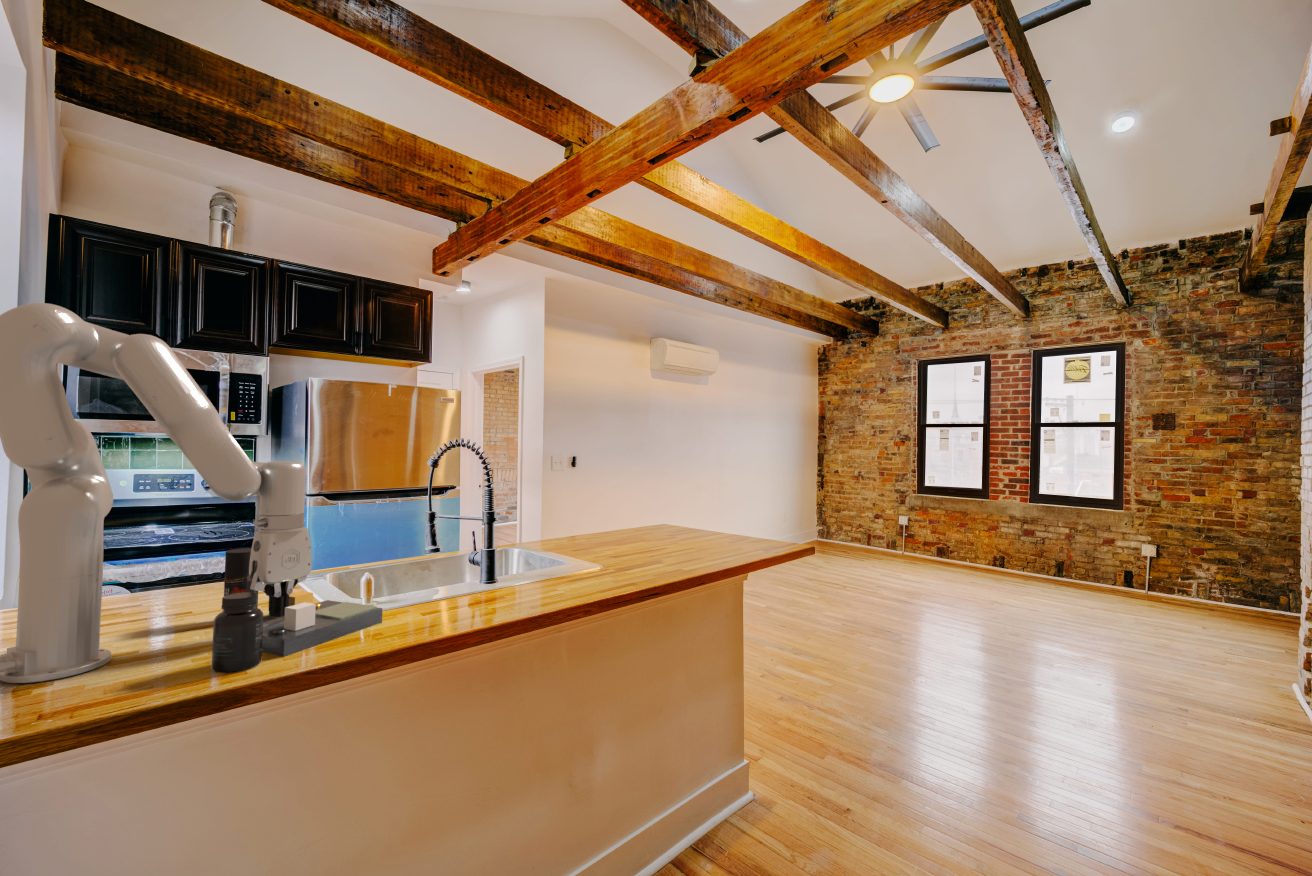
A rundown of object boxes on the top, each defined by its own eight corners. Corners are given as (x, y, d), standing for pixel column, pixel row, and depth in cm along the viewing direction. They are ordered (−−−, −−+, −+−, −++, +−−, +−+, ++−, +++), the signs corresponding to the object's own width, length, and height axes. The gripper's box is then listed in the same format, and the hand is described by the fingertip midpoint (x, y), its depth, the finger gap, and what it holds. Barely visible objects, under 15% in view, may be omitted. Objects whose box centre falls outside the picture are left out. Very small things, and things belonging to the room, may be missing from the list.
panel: (283, 656, 100) (284, 636, 100) (223, 644, 105) (223, 625, 105) (382, 622, 120) (382, 605, 120) (327, 613, 126) (327, 597, 126)
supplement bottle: (245, 656, 99) (248, 588, 100) (270, 662, 97) (273, 593, 97) (202, 669, 93) (205, 597, 93) (227, 677, 90) (230, 602, 91)
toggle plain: (295, 630, 104) (296, 609, 104) (283, 628, 105) (284, 607, 105) (314, 624, 108) (315, 604, 108) (303, 622, 109) (304, 602, 109)
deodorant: (263, 617, 122) (266, 548, 122) (241, 625, 116) (244, 553, 116) (239, 615, 123) (242, 547, 123) (215, 624, 117) (218, 552, 117)
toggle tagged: (294, 617, 112) (295, 597, 113) (283, 615, 113) (284, 595, 114) (312, 612, 116) (313, 592, 116) (302, 610, 117) (302, 591, 117)
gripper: (257, 528, 103) (253, 628, 102) (328, 520, 117) (325, 607, 117) (229, 526, 105) (225, 623, 105) (303, 518, 120) (300, 603, 119)
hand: (278, 615), depth 111 cm, fingers closed
